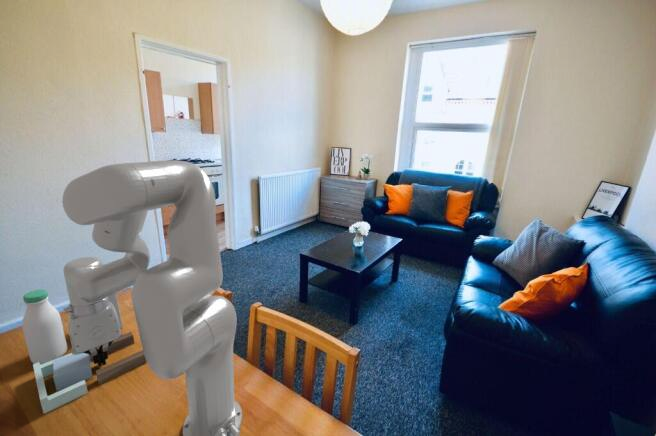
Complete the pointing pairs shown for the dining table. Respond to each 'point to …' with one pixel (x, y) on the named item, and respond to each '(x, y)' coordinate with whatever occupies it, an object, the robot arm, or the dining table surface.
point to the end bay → (60, 396)
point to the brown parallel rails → (121, 365)
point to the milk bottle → (42, 328)
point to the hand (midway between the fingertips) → (101, 362)
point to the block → (71, 370)
